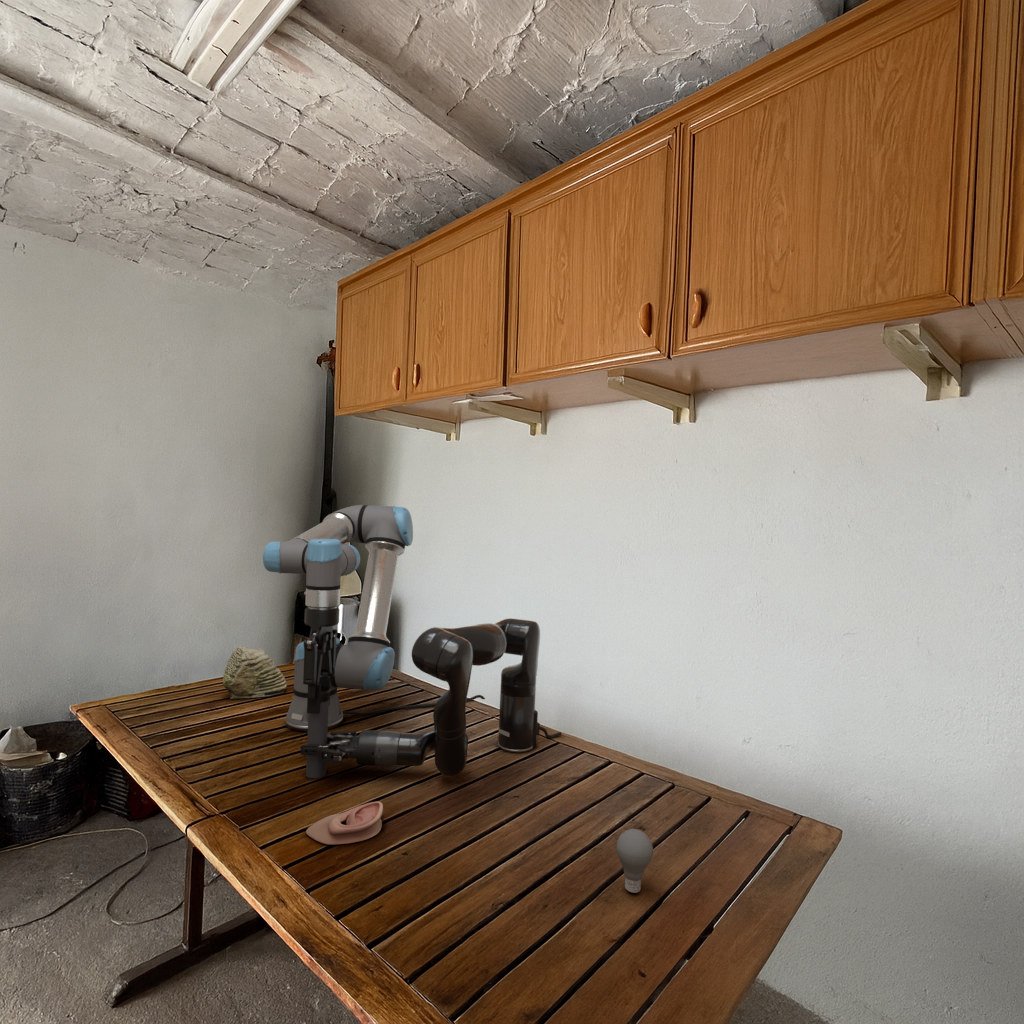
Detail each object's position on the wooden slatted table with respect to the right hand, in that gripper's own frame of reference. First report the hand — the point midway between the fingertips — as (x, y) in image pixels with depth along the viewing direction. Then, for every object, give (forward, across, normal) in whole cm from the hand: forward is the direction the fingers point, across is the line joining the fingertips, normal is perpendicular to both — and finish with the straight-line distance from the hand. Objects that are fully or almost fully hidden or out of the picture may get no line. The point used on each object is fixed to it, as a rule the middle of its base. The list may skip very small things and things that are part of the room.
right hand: (305, 745), depth 144 cm
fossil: (+33, -54, +7) cm, 63 cm away
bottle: (-3, 0, +7) cm, 7 cm away
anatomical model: (-15, +24, +7) cm, 29 cm away
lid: (-3, 0, -13) cm, 13 cm away
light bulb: (-67, +39, +7) cm, 78 cm away
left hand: (-3, 0, -8) cm, 9 cm away
